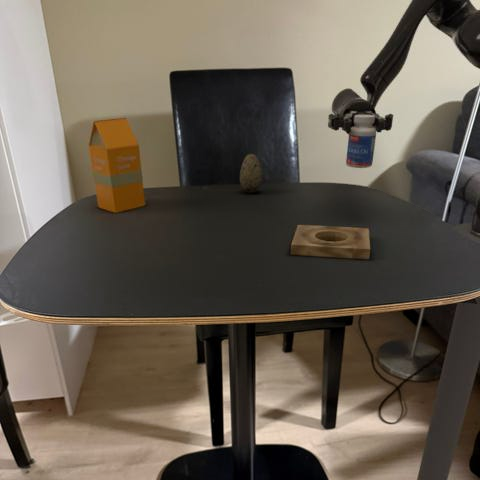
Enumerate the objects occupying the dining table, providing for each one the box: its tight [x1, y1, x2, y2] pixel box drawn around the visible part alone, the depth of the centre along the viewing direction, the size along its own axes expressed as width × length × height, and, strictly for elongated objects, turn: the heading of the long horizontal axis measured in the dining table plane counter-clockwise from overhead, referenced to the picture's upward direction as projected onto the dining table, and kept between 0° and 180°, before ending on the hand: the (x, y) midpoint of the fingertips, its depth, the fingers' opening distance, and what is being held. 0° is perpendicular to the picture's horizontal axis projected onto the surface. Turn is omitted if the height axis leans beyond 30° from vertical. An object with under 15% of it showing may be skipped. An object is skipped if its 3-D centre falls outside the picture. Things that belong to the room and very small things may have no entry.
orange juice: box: [88, 117, 146, 214], centre depth 114 cm, size 8×9×20 cm
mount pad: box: [290, 224, 371, 260], centre depth 91 cm, size 14×12×2 cm
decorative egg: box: [239, 153, 263, 194], centre depth 127 cm, size 6×6×10 cm
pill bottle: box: [345, 115, 377, 169], centre depth 98 cm, size 6×5×10 cm
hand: (364, 126), depth 95 cm, fingers closed on pill bottle, 5 cm apart
